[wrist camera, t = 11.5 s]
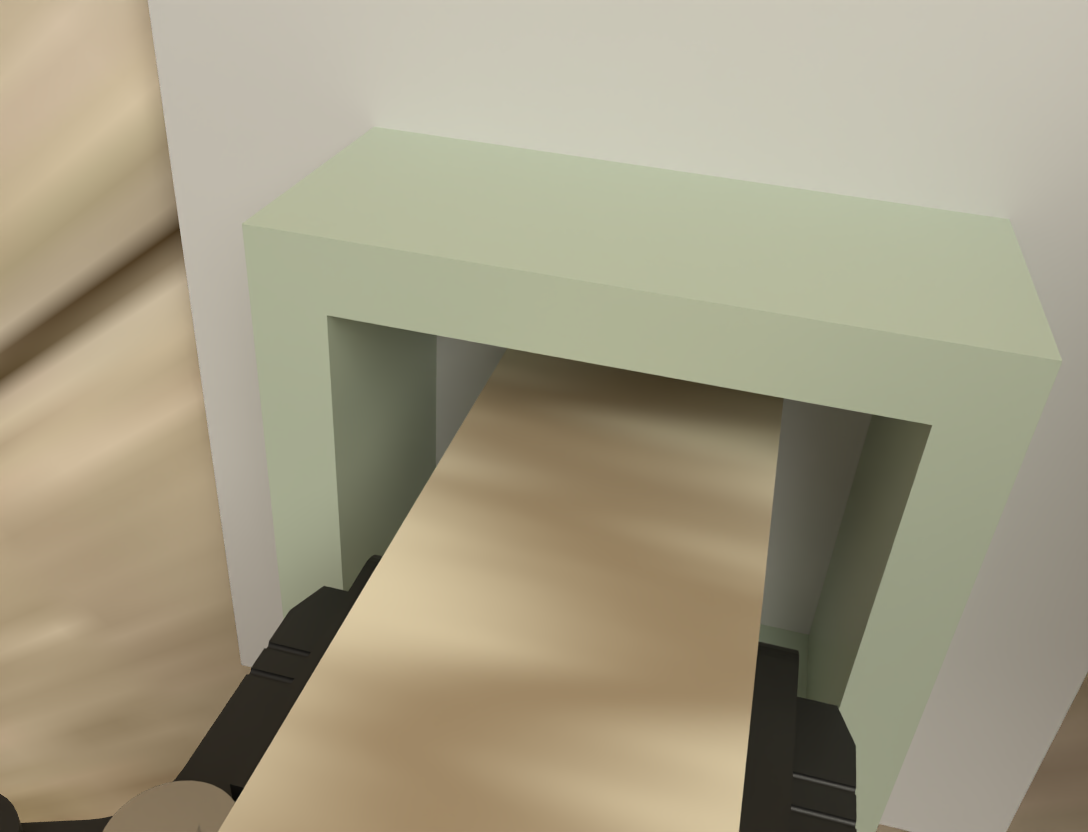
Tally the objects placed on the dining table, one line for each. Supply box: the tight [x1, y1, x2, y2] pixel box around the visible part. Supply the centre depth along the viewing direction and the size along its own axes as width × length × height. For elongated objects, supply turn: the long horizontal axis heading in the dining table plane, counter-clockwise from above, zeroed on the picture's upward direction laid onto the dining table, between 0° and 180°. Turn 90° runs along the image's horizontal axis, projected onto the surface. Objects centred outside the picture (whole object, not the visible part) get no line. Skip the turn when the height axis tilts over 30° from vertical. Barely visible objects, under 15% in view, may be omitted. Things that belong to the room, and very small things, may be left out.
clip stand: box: [148, 0, 1088, 832], centre depth 16 cm, size 16×16×5 cm
